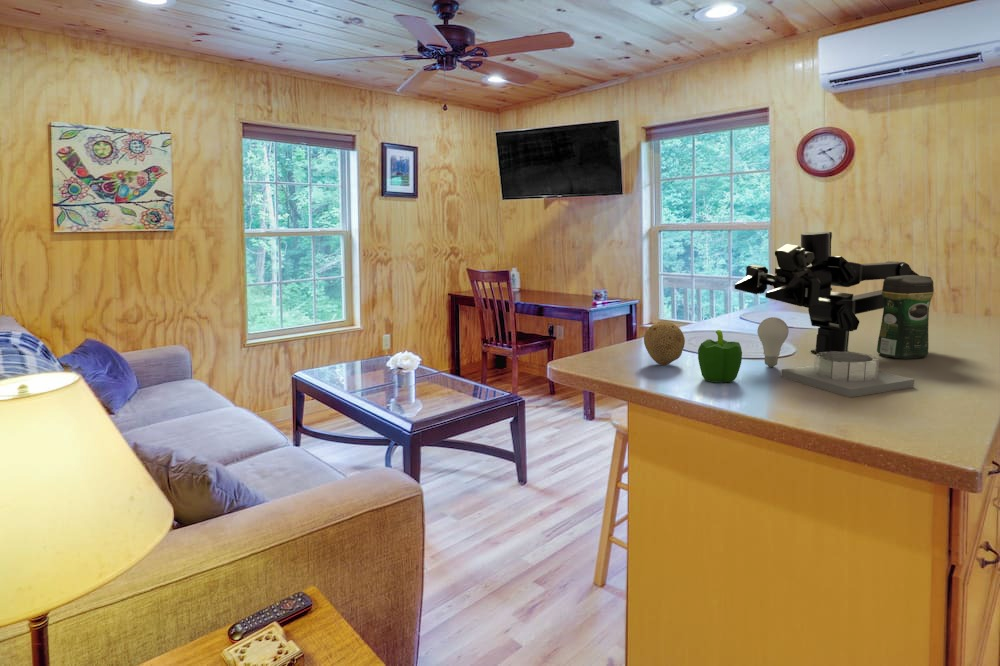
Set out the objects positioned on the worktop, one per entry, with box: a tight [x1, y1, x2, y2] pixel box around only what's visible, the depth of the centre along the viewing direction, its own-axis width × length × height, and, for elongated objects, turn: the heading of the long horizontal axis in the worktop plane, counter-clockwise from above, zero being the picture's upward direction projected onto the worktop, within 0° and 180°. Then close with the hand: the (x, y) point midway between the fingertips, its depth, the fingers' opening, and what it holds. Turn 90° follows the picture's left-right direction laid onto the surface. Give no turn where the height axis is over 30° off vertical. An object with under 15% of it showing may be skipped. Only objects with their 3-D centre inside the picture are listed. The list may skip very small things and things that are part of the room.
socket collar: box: [814, 351, 880, 382], centre depth 116 cm, size 10×10×4 cm
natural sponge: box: [643, 320, 686, 366], centre depth 133 cm, size 9×9×10 cm
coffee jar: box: [876, 274, 934, 360], centre depth 135 cm, size 10×8×19 cm
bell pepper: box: [697, 329, 743, 383], centre depth 119 cm, size 8×8×10 cm
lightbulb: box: [757, 316, 790, 368], centre depth 128 cm, size 6×6×11 cm
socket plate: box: [780, 364, 915, 398], centre depth 116 cm, size 16×16×2 cm
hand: (750, 290), depth 129 cm, fingers open, 9 cm apart
